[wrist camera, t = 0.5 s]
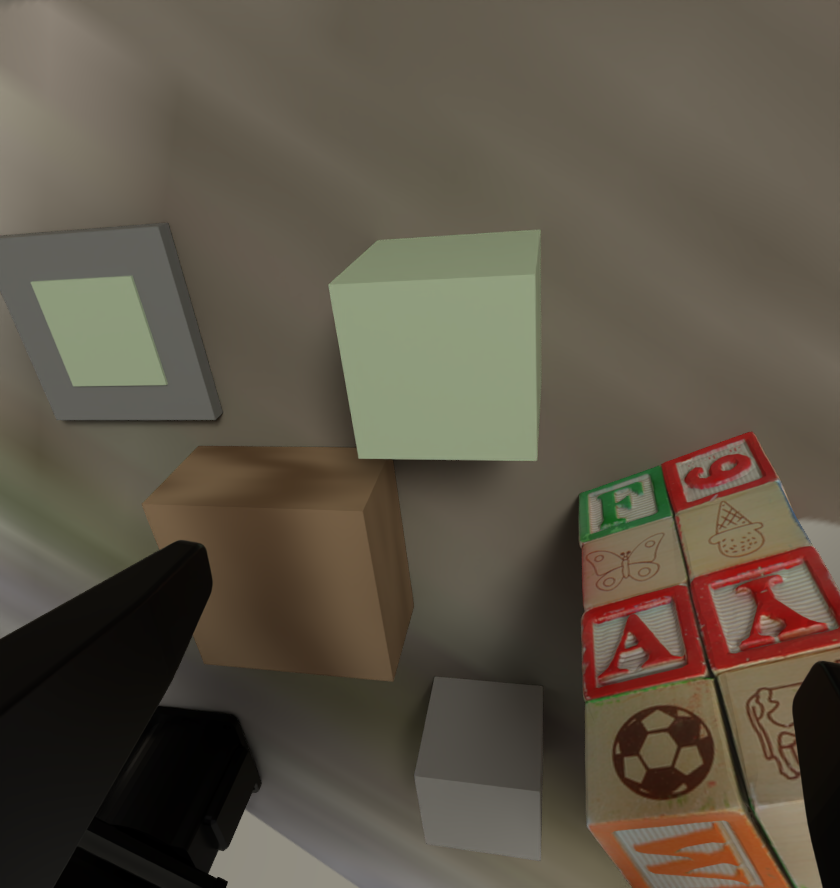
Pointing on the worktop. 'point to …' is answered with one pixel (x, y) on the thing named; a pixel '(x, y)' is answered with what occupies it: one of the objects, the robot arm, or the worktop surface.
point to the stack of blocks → (700, 670)
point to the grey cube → (482, 767)
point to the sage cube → (443, 346)
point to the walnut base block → (293, 557)
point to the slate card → (108, 323)
